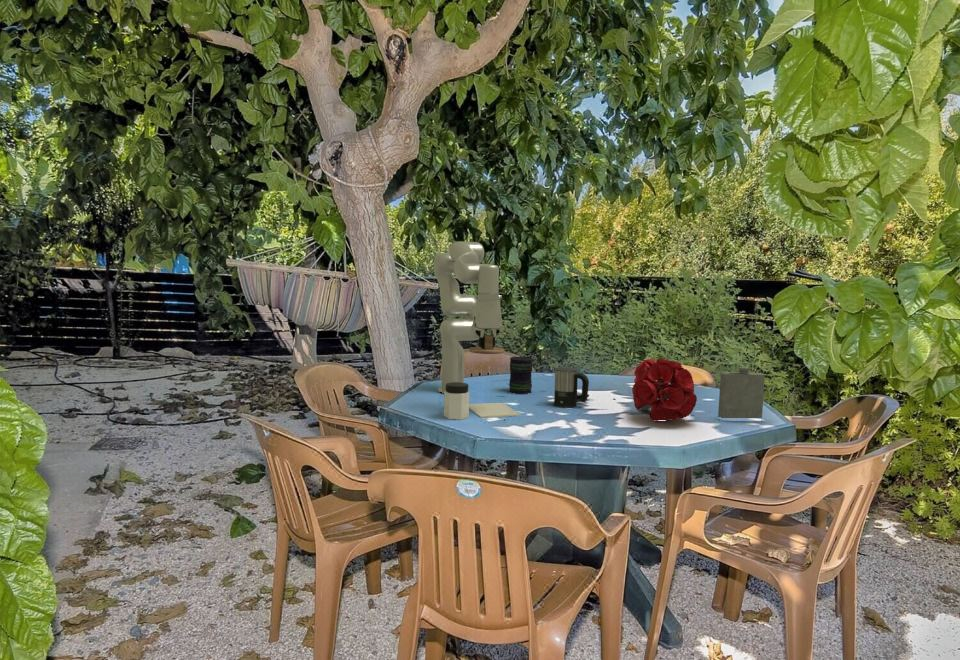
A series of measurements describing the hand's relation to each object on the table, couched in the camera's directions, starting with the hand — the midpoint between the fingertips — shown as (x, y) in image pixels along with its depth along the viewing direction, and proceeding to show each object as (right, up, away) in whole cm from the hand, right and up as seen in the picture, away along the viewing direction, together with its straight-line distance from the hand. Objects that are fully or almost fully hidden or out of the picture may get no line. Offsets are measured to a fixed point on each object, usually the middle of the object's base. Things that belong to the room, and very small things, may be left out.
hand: (486, 347), depth 228 cm
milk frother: (+34, -24, +19) cm, 46 cm away
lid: (0, -2, 0) cm, 2 cm away
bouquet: (+63, -26, -2) cm, 69 cm away
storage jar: (+15, -21, +40) cm, 48 cm away
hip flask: (+93, -27, -3) cm, 97 cm away
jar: (-11, -25, -7) cm, 28 cm away
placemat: (+2, -24, +4) cm, 24 cm away
